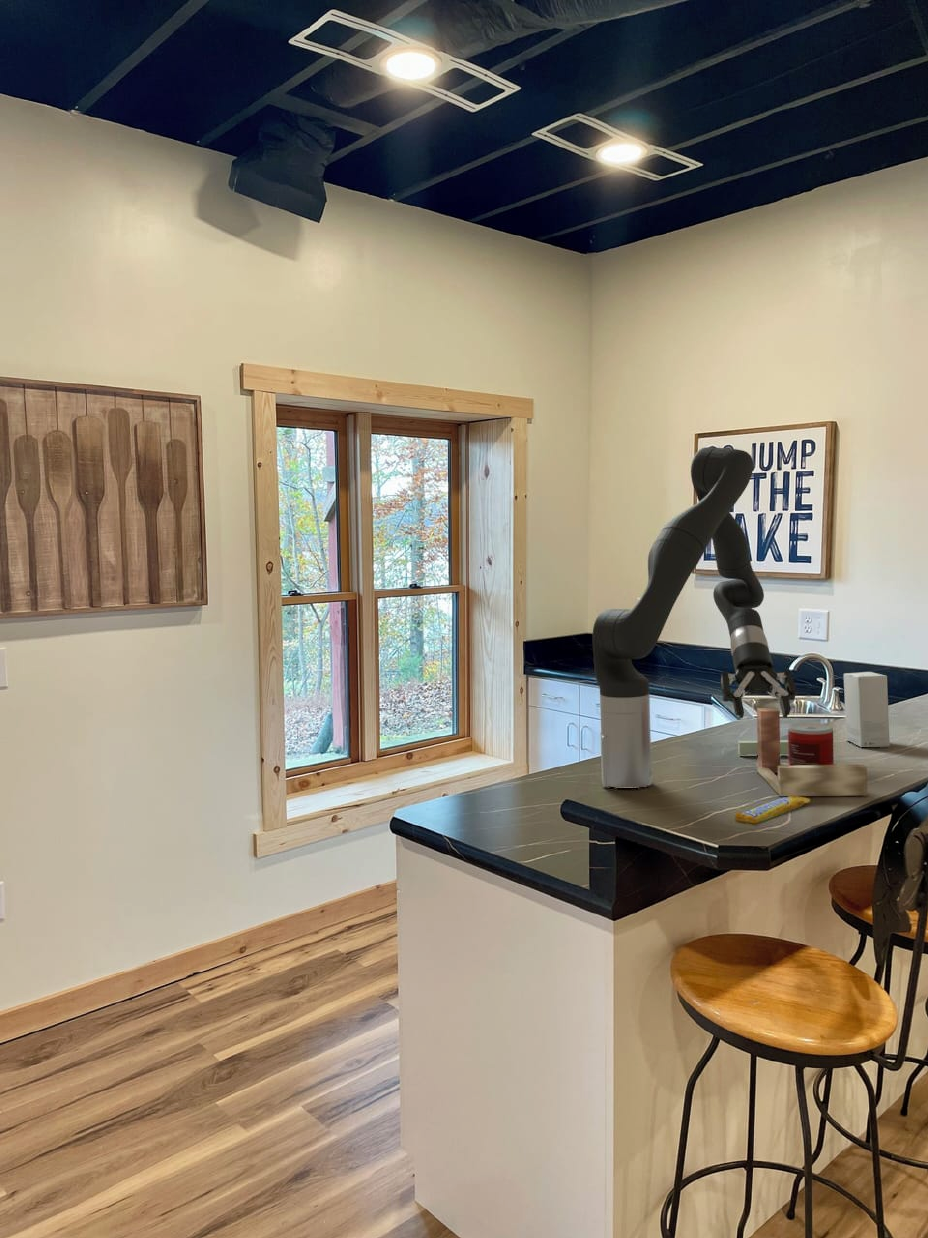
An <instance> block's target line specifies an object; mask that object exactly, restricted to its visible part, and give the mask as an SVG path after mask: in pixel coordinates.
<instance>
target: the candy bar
mask: <svg viewBox="0 0 928 1238" xmlns="http://www.w3.org/2000/svg"><path fill="white" fill-rule="evenodd" d="M810 802H811V799H810V798H809V797H805V796H790V795H789V796H782V797H780V798H777V799H775V800H773V801H769V802H767V803H764V804H762V805H759V806H757V807H754V808H751V809H749V810H746V811H744V812H742V813H740V812H739V811H736V813H735V814H734V817H733V818H734V819H735V820H736V821H737V822H741V823H742V822H743V823H746V824H747V823H749V824H753V825H755V824H758V823H761V822H763V821H766V820H768V819H772V818H774V817H777V816H780V815H783V814H786V813H789V812H791V811H793V810H796V809H799V808H800V807H803V806H804V805H805V804H808V803H810Z"/></svg>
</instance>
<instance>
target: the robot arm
mask: <svg viewBox="0 0 928 1238" xmlns="http://www.w3.org/2000/svg"><path fill="white" fill-rule="evenodd" d="M753 469H754V460H753V457H752V456H751V454H750V453H749V452H747V451H745V450H743V449H737V448H729V447H728V448H726V447H713V446H710V447H702V448H700V449H699V450H698V451H697V452H696V453H695V454H694V456H693V458H692V460H691V465H690V476H691V483H692V487H693V489H694V493H695V495H696V497H697V501H698V502H697V503H695V504H693V505H692V506H690V507H688V508H687V509H685V510H683V511H682V512H681V513H679V514H677V515H676V516H674V517H673V518H672V519H670V520H669V521H668V522H667V523H666V524H665V525H664V526H663V528H662V530H661V531H660V533H659V534H658V535H657V537H656V539H655V541H654V542H653V544H652V546H651V548H650V550H649V552H648V556H647V571H648V573H647V574H648V580H647V581H648V582H647V585H646V587H645V590H644V592H643V594H642V595H641V597H640V599H639V600H638V601H637V602H636V604H635V605H634V607H633V608H631V609H626V608H625V609H622V608H617V609H616V608H610V609H605V610H603V611H602V612H600V613H599V614H598V616H597V617H596V619H595V621H594V624H593V627H592V628H593V629H592V651H593V652H592V653H593V654H592V655H593V665H594V675H595V679H596V682H597V684H598V688H599V698H600V699H599V702H600V703H599V704H600V708H599V709H600V730H601V731H600V756H601V757H600V758H601V759H600V760H601V761H600V762H601V783H602V787H603V788H607V787H606V786H613V787H633V788H634V787H636V788H637V787H644V788H647V786H648V787H649V786H651V785H652V783H653V782H652V775H653V771H652V745H651V744H652V743H651V742H652V740H651V739H652V738H651V737H652V736H651V706H650V705H651V704H650V703H651V701H650V699H651V697H650V683H649V680H648V678H647V677H646V676H645V675H643V674H641V673H640V672H639V671H638V670H637V669H636V668H635V665H633V663H632V662H633V661H632V660H641V659H643V658H646V656H648V655H650V653H651V652H652V651H653V650H654V648H655V646H656V645H657V642H658V641H659V640H660V639H659V638H660V637H661V634H662V631H663V630H664V627H665V625H666V622H667V620H668V618H669V617H670V613H671V612H672V610H673V607H674V605H675V603H676V601H677V599H678V597H679V596H680V594H681V592H682V590H683V588H684V587H685V585H686V583H687V581H688V579H689V578H690V576H691V575H692V573H693V572H694V570H695V568H696V567H697V565H698V563H699V562H700V560H701V559H702V556H703V555H704V553H705V552H706V549H707V547H708V545H709V544H710V542H711V541H712V545H713V549H714V555H715V562H716V568H717V571H718V574H719V575H720V576H721V577H722V578H725V579H727V580H725V581H721V582H719V583H717V585H716V586H714V589H713V599H714V603H715V605H716V606H717V609H718V610H719V612H720V613H721V615H722V616H723V618H724V620H725V622H726V625H727V628H728V634H729V639H730V640H729V641H730V654H731V656H732V661H733V666H734V672H735V673H732V674H731V673H729V672H728V671H726V670H725V671H724V670H723V671H722V672H721V678H720V685H721V693H722V695H721V696H722V701H723V702H725V703H726V702H731V703H732V704H733V710H734V711H733V712H734V714H735V715H736V716H738V718H739V719H743V718H744V714H745V711H744V710H745V709H744V705H743V700H742V698H744V697H745V695H746V694H747V693H749V694H750V695H754V694H769V696H771V697H773V698H776V699H777V700H778V701H779V706H780V707H779V708H780V711H781V715H782V717H783V718H787V717H788V715H790V712H791V710H792V708H791V705H790V703H791V702H790V701H794V700H795V699H796V696H797V692H798V690H797V687H796V683H795V680H794V678H793V674H792V672H791V670H789V669H785V670H784V672H776V670H775V669H774V664H773V661H772V657H771V653H770V648H769V643H768V640H767V637H766V635H765V634H766V633H764V632H765V631H764V628H763V622H762V619H761V618H762V617H761V616H760V613H759V611H757V610H756V608H758V607H760V606H761V604H762V603H763V602H764V599H765V598H764V597H765V593H764V590H763V586H762V584H761V583H760V580H759V579H758V577H757V575H756V573H755V572H754V571H755V570H754V569H753V566H752V563H751V557H750V549H749V543H748V539H747V537H746V534H745V532H744V530H743V529H742V527H741V525H740V523H738V521H737V520H736V519H735V517H734V516H733V515H732V514H731V511H732V509H733V507H734V506H735V504H736V503H737V502H738V500H740V497H741V496H743V493H744V492H745V490H746V489H747V487H748V485H749V483H750V480H751V478H752V475H753ZM729 579H730V580H729ZM777 680H779V681H780V683H781V684H780V683H779V682H778V681H777ZM733 681H734V682H735V683H736V684H737V685H738V688H737V689H736V690H735V691H734V692H732V691H731V687H730V686H731V685H732V683H733ZM781 685H784V687H785V689H784V688H783V687H782V686H781Z"/></svg>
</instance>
